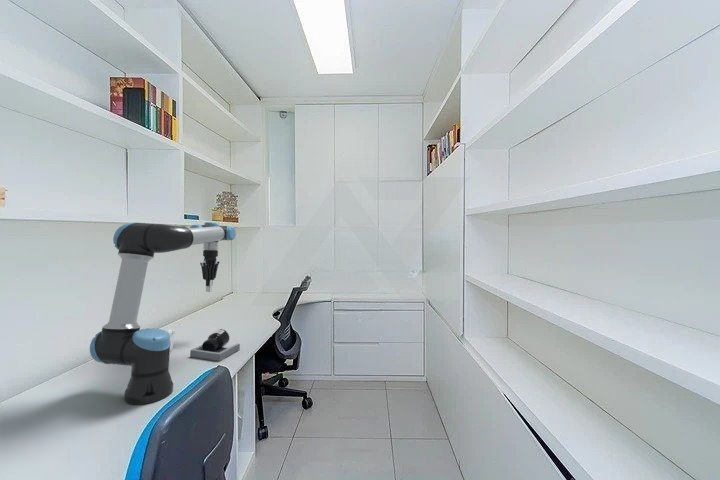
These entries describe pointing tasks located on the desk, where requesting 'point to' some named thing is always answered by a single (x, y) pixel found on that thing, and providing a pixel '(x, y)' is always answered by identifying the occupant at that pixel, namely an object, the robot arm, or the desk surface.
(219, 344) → the ink bottle
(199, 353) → the tray
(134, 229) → the robot arm
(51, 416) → the desk surface
